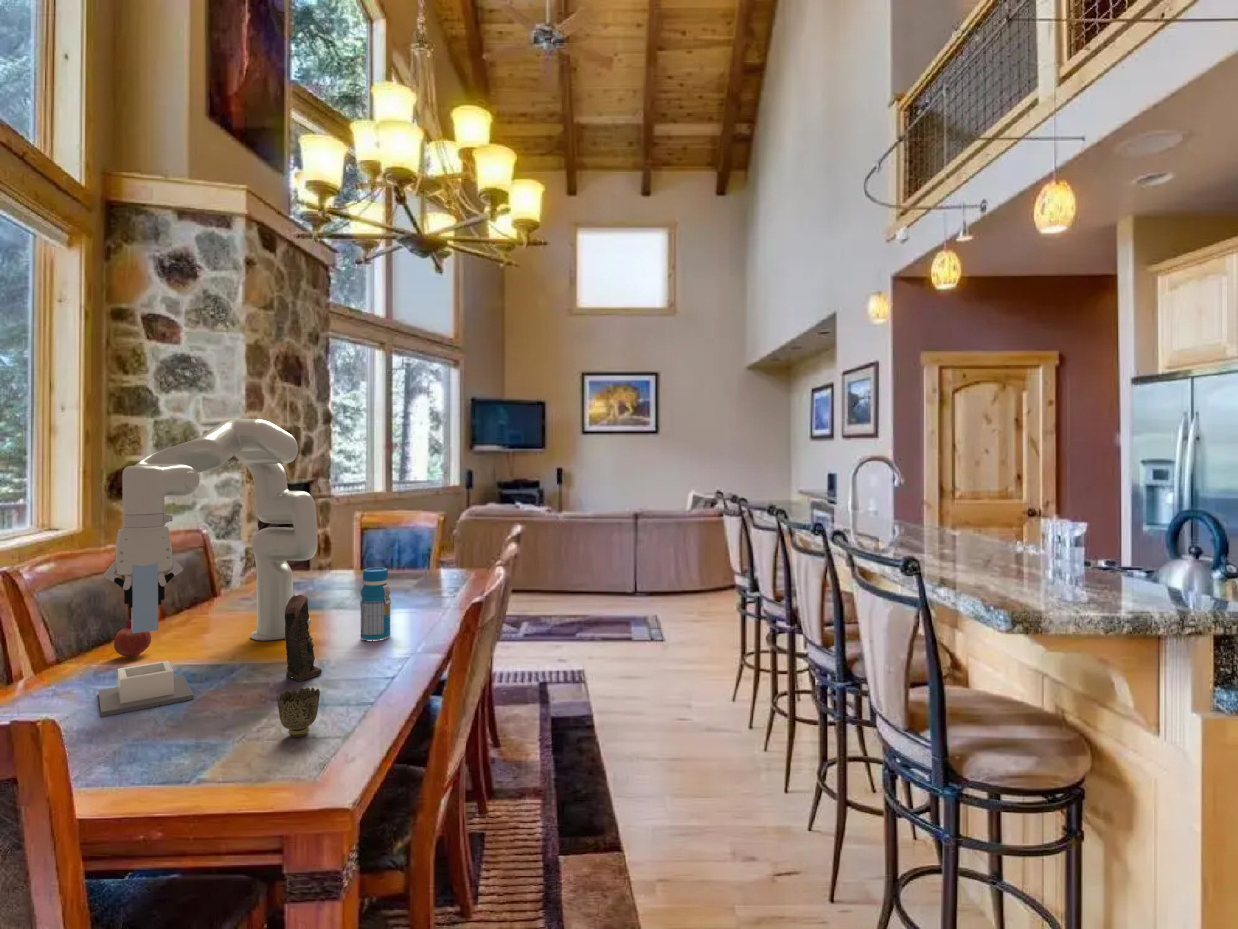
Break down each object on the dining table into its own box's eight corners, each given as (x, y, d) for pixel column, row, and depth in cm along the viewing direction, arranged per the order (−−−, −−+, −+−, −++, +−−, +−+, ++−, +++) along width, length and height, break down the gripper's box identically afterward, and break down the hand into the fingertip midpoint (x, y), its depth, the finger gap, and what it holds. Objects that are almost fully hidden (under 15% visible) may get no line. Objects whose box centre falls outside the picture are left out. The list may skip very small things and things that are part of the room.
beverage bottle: (366, 644, 191) (366, 573, 191) (355, 637, 198) (355, 569, 197) (395, 638, 197) (395, 569, 197) (384, 632, 203) (383, 565, 203)
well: (183, 679, 161) (183, 654, 161) (193, 699, 148) (193, 671, 148) (98, 694, 151) (98, 667, 151) (101, 717, 138) (101, 687, 138)
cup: (286, 727, 134) (286, 687, 134) (325, 726, 134) (325, 686, 134) (270, 743, 126) (270, 701, 126) (311, 742, 127) (311, 699, 127)
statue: (323, 674, 165) (322, 592, 165) (300, 683, 159) (299, 598, 158) (300, 671, 168) (300, 590, 167) (277, 680, 161) (276, 596, 160)
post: (156, 626, 152) (155, 559, 152) (158, 630, 149) (157, 561, 149) (131, 629, 150) (130, 561, 149) (133, 633, 146) (132, 563, 146)
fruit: (131, 662, 174) (131, 623, 173) (105, 660, 175) (105, 622, 175) (159, 653, 182) (158, 616, 181) (133, 651, 183) (133, 614, 183)
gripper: (187, 518, 157) (187, 597, 157) (94, 523, 147) (95, 607, 147) (191, 521, 151) (192, 603, 152) (95, 526, 141) (96, 614, 141)
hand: (144, 604), depth 149 cm, fingers closed on post, 4 cm apart
